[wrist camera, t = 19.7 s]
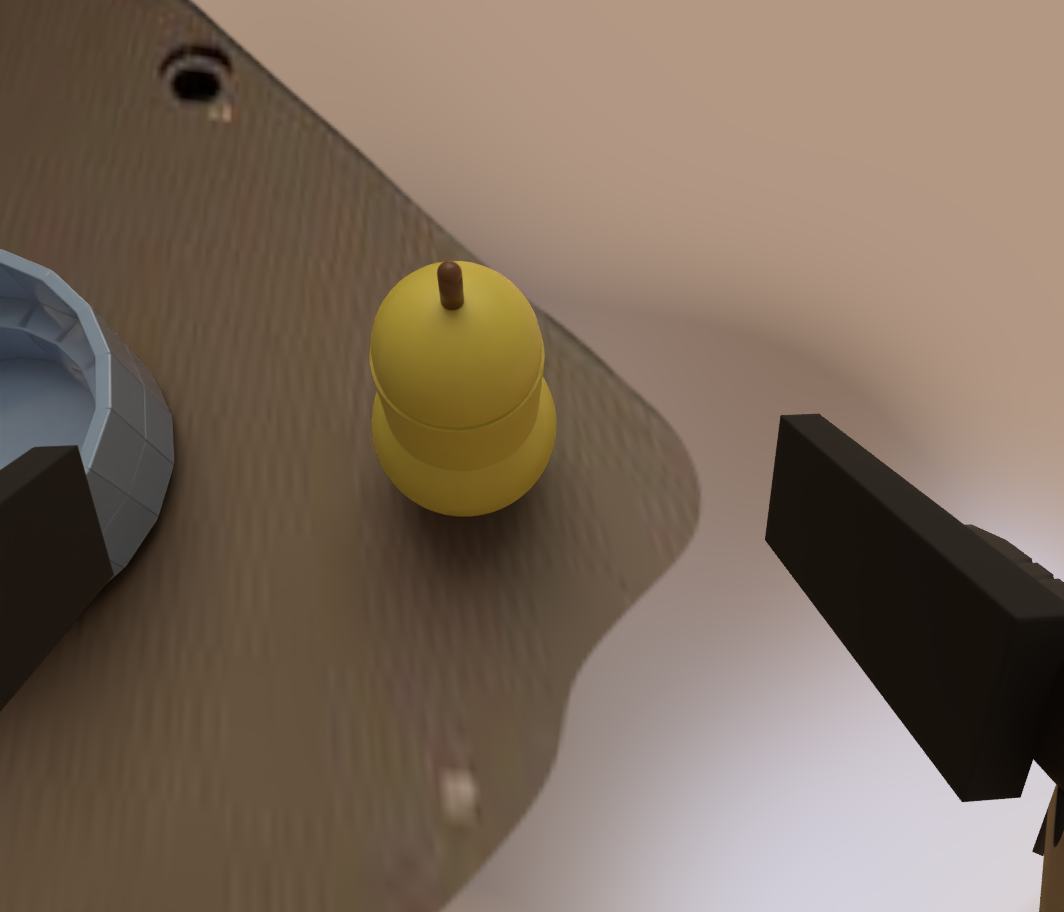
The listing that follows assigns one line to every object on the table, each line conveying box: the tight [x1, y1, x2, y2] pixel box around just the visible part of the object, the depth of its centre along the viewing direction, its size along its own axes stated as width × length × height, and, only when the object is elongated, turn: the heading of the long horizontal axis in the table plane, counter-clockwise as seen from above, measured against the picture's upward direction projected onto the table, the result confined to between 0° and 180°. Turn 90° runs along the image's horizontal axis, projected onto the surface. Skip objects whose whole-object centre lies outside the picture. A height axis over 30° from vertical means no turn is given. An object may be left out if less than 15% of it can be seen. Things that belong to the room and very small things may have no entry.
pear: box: [370, 260, 556, 517], centre depth 23 cm, size 6×6×12 cm
